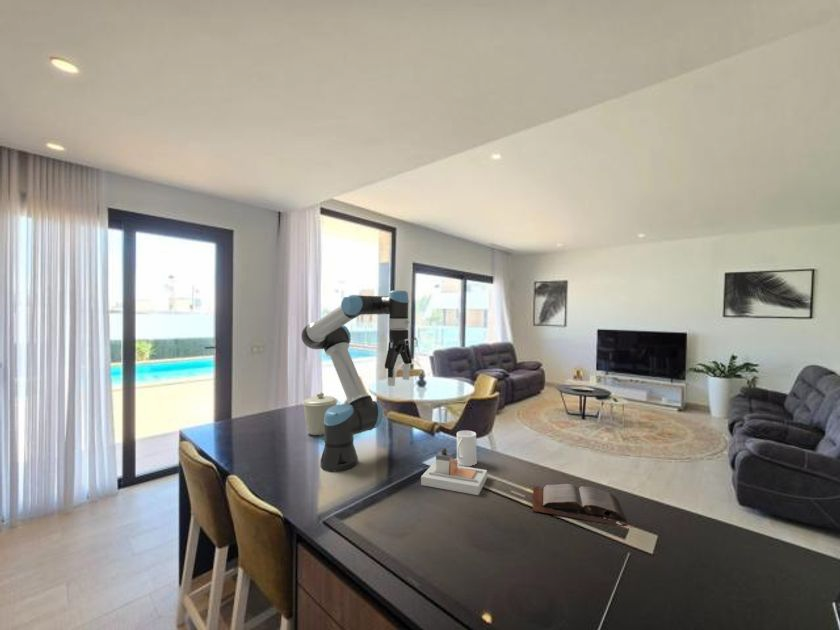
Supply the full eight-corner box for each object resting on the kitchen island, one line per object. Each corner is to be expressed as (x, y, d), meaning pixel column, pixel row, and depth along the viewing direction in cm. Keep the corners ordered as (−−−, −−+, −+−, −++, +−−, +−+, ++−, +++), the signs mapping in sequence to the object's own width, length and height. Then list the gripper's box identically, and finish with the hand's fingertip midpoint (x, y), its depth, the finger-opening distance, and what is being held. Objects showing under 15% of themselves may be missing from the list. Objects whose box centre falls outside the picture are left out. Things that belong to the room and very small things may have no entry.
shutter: (449, 476, 133) (449, 464, 133) (455, 469, 139) (455, 457, 139) (471, 480, 130) (471, 468, 130) (476, 472, 136) (476, 461, 136)
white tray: (421, 484, 133) (421, 474, 133) (434, 469, 146) (434, 460, 146) (478, 495, 125) (478, 484, 125) (487, 478, 138) (487, 468, 138)
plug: (436, 479, 136) (435, 449, 136) (439, 475, 140) (439, 446, 140) (449, 481, 134) (448, 451, 134) (452, 477, 138) (452, 447, 138)
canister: (333, 438, 184) (333, 396, 184) (297, 438, 184) (297, 396, 184) (341, 427, 202) (341, 388, 202) (308, 427, 202) (308, 388, 202)
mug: (465, 471, 145) (464, 440, 144) (447, 465, 150) (447, 436, 150) (480, 461, 154) (480, 432, 153) (463, 456, 159) (463, 428, 159)
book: (634, 531, 105) (634, 515, 106) (532, 512, 114) (532, 498, 115) (620, 502, 124) (620, 488, 125) (533, 488, 133) (533, 475, 133)
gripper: (393, 331, 134) (393, 389, 134) (419, 328, 157) (419, 377, 158) (375, 330, 137) (375, 387, 137) (403, 327, 160) (403, 376, 160)
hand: (399, 382), depth 147 cm, fingers open, 13 cm apart
